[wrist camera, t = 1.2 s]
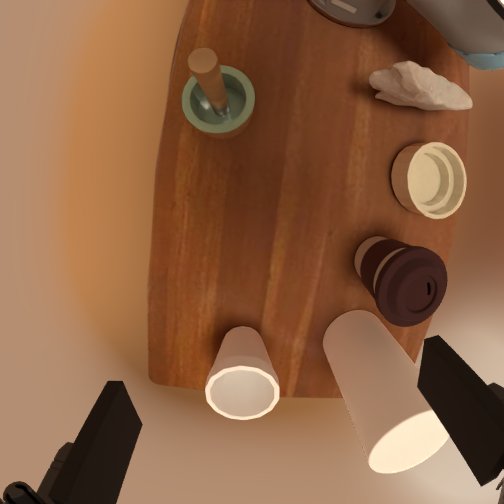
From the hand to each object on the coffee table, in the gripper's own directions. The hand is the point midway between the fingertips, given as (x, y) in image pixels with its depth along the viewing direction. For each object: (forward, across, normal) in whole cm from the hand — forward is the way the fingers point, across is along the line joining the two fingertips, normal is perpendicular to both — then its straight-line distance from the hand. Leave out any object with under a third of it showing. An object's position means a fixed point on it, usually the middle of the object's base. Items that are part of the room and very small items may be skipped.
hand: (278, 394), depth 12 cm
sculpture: (+35, +24, +17) cm, 46 cm away
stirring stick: (+34, -2, +17) cm, 38 cm away
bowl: (+34, +26, +5) cm, 44 cm away
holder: (+34, -2, +17) cm, 39 cm away
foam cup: (+34, -4, -18) cm, 39 cm away
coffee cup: (+35, +18, -7) cm, 39 cm away
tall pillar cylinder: (+34, +14, -20) cm, 42 cm away
